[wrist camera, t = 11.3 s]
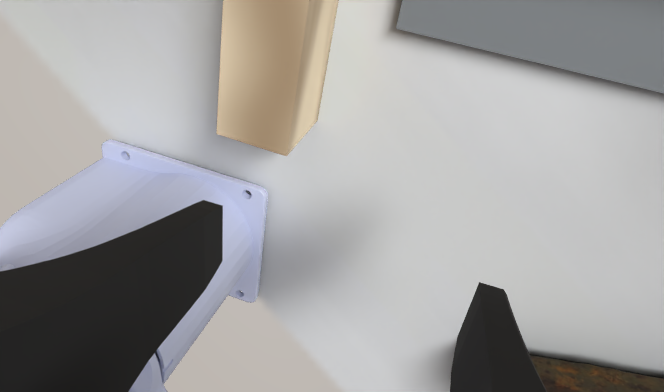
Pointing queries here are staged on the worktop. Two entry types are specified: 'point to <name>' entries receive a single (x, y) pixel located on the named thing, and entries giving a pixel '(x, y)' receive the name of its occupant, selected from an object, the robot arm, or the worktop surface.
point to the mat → (554, 33)
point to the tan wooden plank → (273, 69)
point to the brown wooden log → (591, 378)
